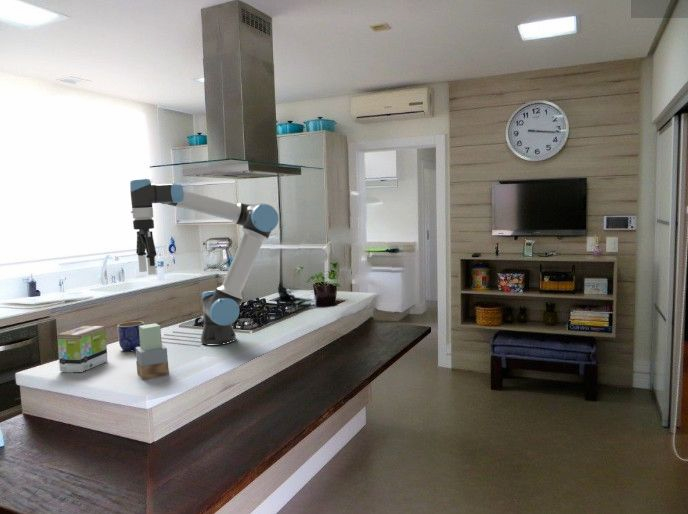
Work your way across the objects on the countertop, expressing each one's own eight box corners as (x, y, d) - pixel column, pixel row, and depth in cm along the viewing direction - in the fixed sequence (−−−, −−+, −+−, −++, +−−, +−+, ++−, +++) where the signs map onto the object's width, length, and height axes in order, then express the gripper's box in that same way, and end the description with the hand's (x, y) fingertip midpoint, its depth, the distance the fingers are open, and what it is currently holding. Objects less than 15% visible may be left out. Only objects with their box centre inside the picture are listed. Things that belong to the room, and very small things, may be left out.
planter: (150, 348, 224) (148, 322, 223) (126, 354, 216) (123, 327, 215) (139, 344, 231) (137, 319, 230) (115, 350, 223) (112, 324, 222)
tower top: (162, 356, 192) (161, 343, 192) (167, 361, 185) (166, 348, 184) (136, 360, 188) (135, 347, 187) (141, 366, 180) (140, 352, 180)
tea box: (82, 373, 192) (79, 334, 190) (59, 372, 194) (55, 334, 192) (108, 361, 206) (105, 324, 205) (86, 360, 208) (83, 324, 207)
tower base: (162, 369, 193) (161, 356, 192) (169, 375, 185) (168, 361, 185) (137, 374, 188) (136, 361, 187) (142, 380, 180) (141, 366, 180)
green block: (157, 344, 190) (155, 323, 189) (162, 347, 185) (160, 325, 184) (140, 347, 187) (138, 326, 186) (144, 350, 182) (143, 328, 181)
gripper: (125, 219, 209) (130, 271, 211) (141, 219, 189) (146, 276, 191) (144, 218, 213) (149, 269, 215) (162, 218, 193) (166, 274, 195)
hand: (147, 273), depth 203 cm, fingers open, 13 cm apart
